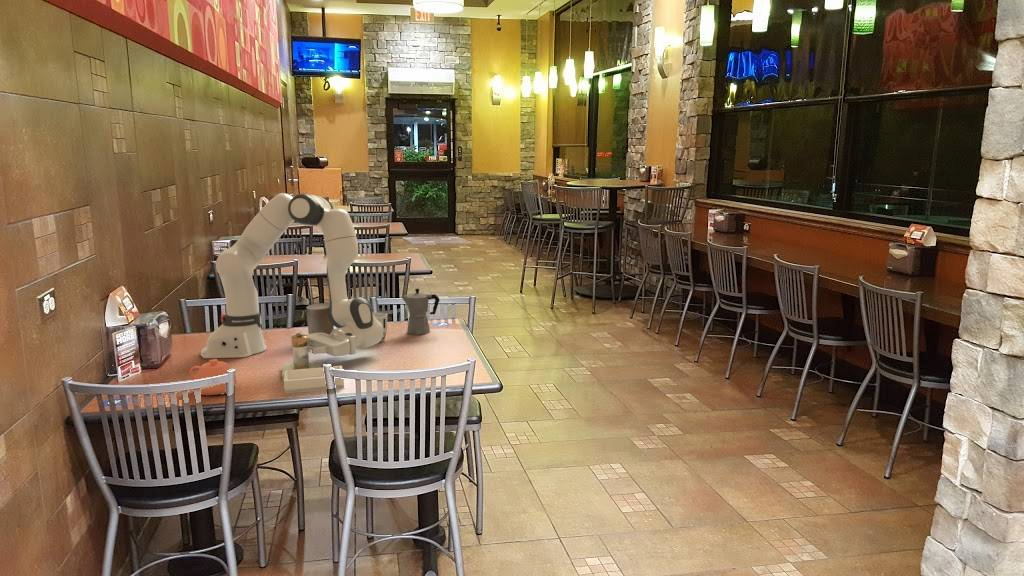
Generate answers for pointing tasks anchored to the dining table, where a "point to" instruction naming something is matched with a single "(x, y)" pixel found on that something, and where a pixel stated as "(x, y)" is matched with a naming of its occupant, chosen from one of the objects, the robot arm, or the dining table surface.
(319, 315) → the pillar candle
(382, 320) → the cup
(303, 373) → the trough
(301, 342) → the battery cell
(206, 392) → the sugar bowl
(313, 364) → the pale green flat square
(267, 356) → the dining table surface
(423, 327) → the coffeepot
